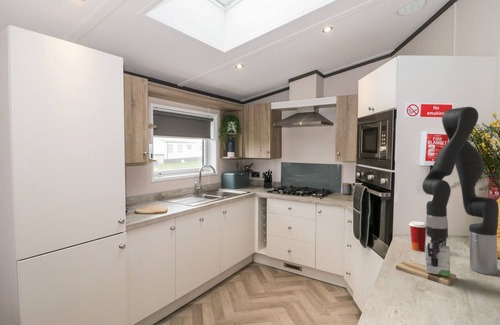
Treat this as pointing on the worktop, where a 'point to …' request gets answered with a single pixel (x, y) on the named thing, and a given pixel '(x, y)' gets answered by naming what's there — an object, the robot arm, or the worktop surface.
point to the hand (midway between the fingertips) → (437, 264)
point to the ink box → (439, 261)
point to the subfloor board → (424, 272)
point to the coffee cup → (418, 235)
